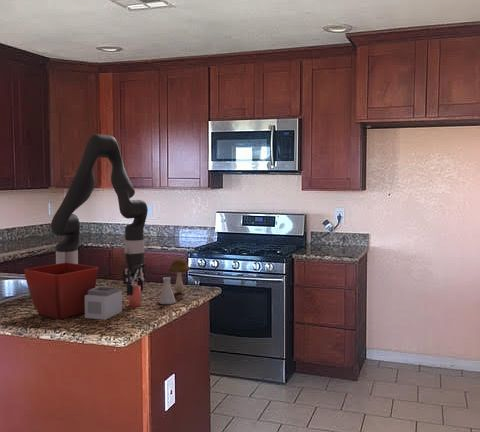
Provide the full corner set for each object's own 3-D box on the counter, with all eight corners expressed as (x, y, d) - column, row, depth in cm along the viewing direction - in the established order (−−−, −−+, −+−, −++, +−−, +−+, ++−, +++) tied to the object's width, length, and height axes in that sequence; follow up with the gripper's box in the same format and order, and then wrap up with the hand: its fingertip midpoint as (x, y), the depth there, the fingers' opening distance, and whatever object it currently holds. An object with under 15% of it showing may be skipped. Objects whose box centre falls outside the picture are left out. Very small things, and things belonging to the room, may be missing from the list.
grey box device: (84, 318, 203) (84, 291, 202) (102, 310, 215) (102, 285, 214) (104, 319, 201) (103, 293, 200) (121, 311, 213) (121, 286, 212)
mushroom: (188, 289, 253) (188, 256, 252) (191, 295, 242) (191, 260, 241) (167, 290, 251) (167, 256, 250) (169, 295, 240) (169, 260, 239)
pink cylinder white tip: (126, 306, 222) (126, 284, 221) (132, 303, 226) (132, 282, 225) (137, 307, 220) (137, 285, 220) (142, 304, 225) (142, 283, 224)
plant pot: (57, 323, 196) (56, 274, 195) (23, 315, 207) (22, 268, 206) (100, 312, 212) (99, 267, 210) (67, 305, 223) (66, 262, 221)
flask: (155, 301, 230) (155, 277, 229) (173, 300, 232) (173, 276, 232) (159, 305, 223) (159, 280, 222) (178, 304, 226) (178, 279, 225)
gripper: (134, 248, 229) (135, 288, 231) (116, 253, 216) (117, 295, 217) (151, 249, 227) (152, 289, 228) (134, 254, 214) (135, 297, 215)
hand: (135, 292), depth 223 cm, fingers open, 8 cm apart
